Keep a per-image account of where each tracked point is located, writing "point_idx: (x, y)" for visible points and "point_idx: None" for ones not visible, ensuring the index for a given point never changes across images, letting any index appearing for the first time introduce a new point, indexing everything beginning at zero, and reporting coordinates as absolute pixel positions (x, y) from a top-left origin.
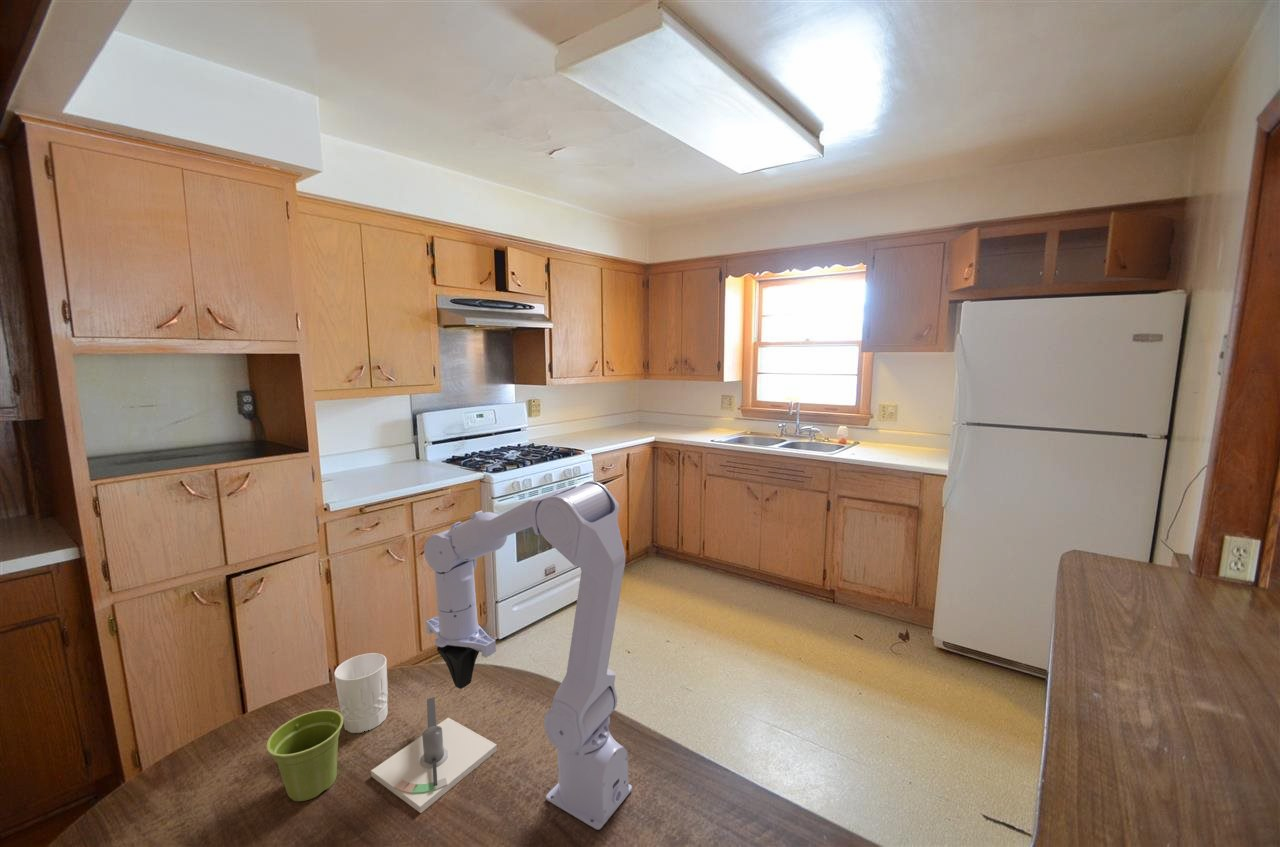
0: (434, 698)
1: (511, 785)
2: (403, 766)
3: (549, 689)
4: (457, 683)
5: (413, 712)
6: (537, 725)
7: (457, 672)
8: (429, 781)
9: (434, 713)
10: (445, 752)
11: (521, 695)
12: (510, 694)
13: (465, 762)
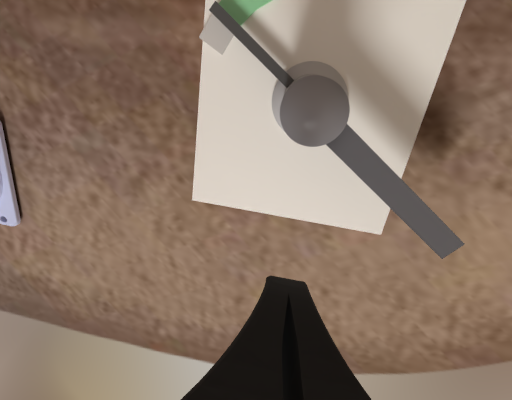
0: (437, 253)
1: (92, 122)
2: (376, 36)
3: None
4: (277, 290)
5: (508, 228)
6: (173, 279)
7: (247, 337)
8: (257, 26)
9: (384, 197)
10: None
11: None
12: None
13: (218, 124)
